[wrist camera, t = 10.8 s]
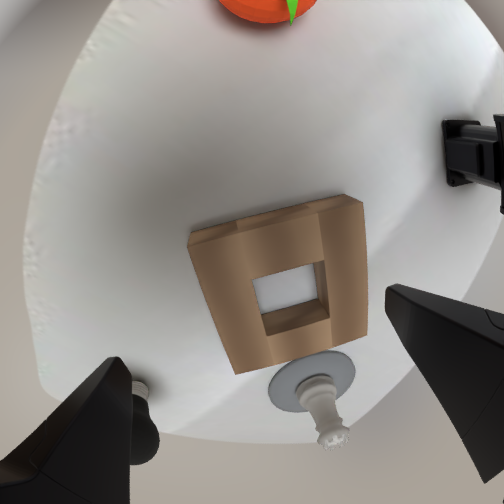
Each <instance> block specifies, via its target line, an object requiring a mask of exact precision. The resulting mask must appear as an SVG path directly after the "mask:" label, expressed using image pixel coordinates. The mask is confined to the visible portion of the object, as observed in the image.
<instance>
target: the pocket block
mask: <svg viewBox="0 0 504 504" xmlns="http://www.w3.org/2000/svg"><path fill="white" fill-rule="evenodd" d="M187 248H188V251H189V254H190V257H191V260H192V263H193V266H194V269H195V272H196V275H197V277H198V280H199V283H200V286H201V289H202V291H203V294H204V297H205V299H206V302H207V305H208V307H209V310H210V313H211V315H212V318H213V321H214V323H215V326H216V328H217V331H218V333H219V336H220V339H221V341H222V344H223V346H224V348H225V351H226V353H227V356H228V358H229V361H230V363H231V365H232V368H233V370H234V373H235V375H236V374H241V373H245V372H249V371H254V370H258V369H262V368H266V367H269V366H273V365H277V364H281V363H284V362H288V361H291V360H295V359H298V358H302V357H305V356H308V355H311V354H315V353H318V352H321V351H324V350H327V349H330V348H333V347H336V346H339V345H342V344H344V343H347V342H350V341H353V340H356V339H358V338H361V337H364V336H366V335H367V326H368V272H367V248H366V232H365V220H364V209H363V202H361V201H359V200H357V199H354V198H352V197H350V196H348V195H345V194H342V195H338V196H333V197H329V198H325V199H320V200H316V201H312V202H307V203H303V204H299V205H295V206H291V207H287V208H282V209H278V210H274V211H270V212H266V213H262V214H258V215H254V216H251V217H247V218H243V219H239V220H235V221H231V222H228V223H224V224H220V225H216V226H213V227H209V228H205V229H202V230H198V231H194V232H191V234H190V238H189V241H188V245H187ZM311 263H314V270H315V278H316V285H317V293H318V299H315V300H312V301H309V302H305V303H302V304H299V305H295V306H292V307H288V308H285V309H281V310H277V311H274V312H270V313H266V314H263V315H261V314H260V310H259V307H258V303H257V299H256V295H255V291H254V288H253V284H252V279H256V278H260V277H264V276H267V275H271V274H275V273H279V272H282V271H286V270H290V269H293V268H297V267H300V266H304V265H308V264H311Z"/></svg>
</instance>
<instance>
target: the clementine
mask: <svg viewBox="0 0 504 504" xmlns="http://www.w3.org/2000/svg"><path fill="white" fill-rule="evenodd" d="M219 1H220V2H221V3H222V4H223V5H224V6H225V7H226V8H227V9H228V10H229V11H231V12H232V13H234V14H236V15H237V16H239V17H241V18H244V19H247V20H250V21H254V22H260V23H277V22H282V21H287V20H290V26H291V24H292V21H293V19H294V18H296V17H298V16H301V15H302V14H303V13H305V12H306V11H307V10H308V9H310V8H311V7H312V6H313V5H314V4H315V2H316V0H219Z"/></svg>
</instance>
